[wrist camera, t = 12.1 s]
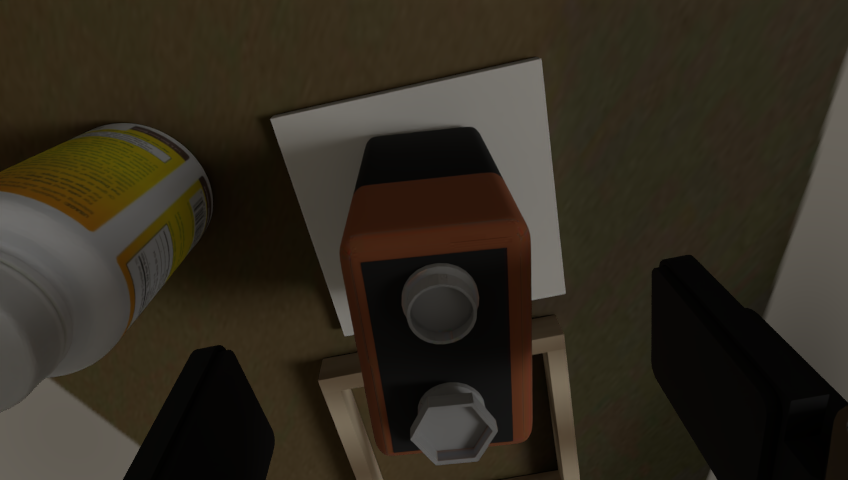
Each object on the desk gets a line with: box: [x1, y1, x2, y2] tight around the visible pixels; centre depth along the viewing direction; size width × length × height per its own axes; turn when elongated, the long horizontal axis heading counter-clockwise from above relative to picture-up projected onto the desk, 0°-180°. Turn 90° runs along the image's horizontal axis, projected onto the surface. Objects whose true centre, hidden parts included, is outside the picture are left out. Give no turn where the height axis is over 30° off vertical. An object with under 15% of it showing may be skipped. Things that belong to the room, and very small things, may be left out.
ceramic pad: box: [270, 57, 566, 336], centre depth 21 cm, size 10×10×1 cm
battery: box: [339, 127, 533, 465], centre depth 16 cm, size 4×7×10 cm, turn 6°
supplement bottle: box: [0, 123, 213, 412], centre depth 16 cm, size 6×6×10 cm
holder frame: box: [318, 315, 580, 480], centre depth 26 cm, size 11×11×2 cm
